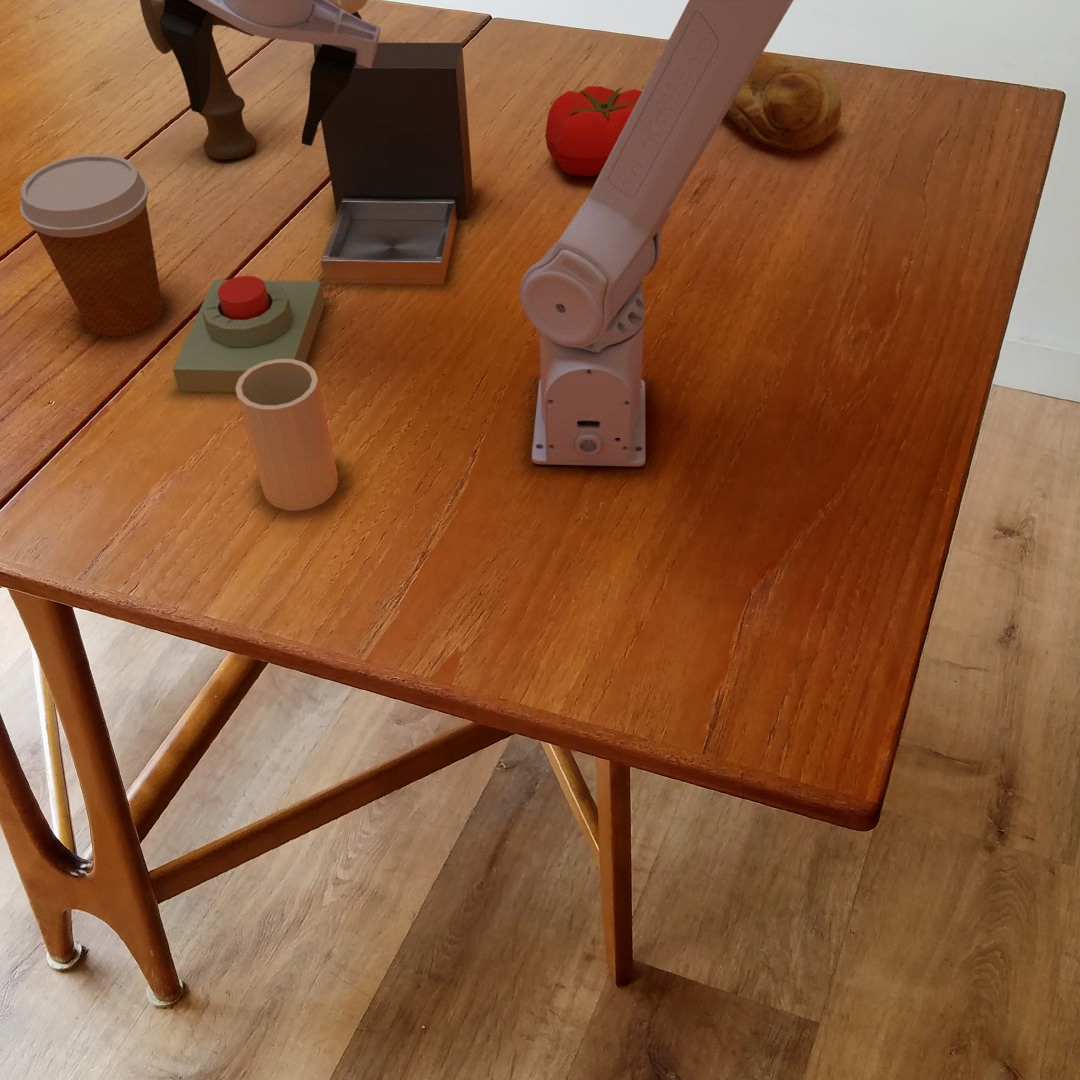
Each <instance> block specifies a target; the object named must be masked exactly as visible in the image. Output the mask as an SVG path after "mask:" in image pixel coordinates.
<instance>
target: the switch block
mask: <svg viewBox="0 0 1080 1080" xmlns="http://www.w3.org/2000/svg"><path fill="white" fill-rule="evenodd" d="M227 280H228V279H213V280H212V283H211V285H210V286H209V289H208V291H207V293H206V296H205V297H204V300H203V302H202V304H201V307H200V308H199V311H198V312H197V315H196V317H195V319H194V321H193V324H192V326H191V328H190V329H189V330H190V331H189V332H188V335H187V337H186V339H185V342H184V344H183V346H182V348H181V350H180V352H179V354H178V356H177V358H176V361H175V363H174V365H173V368H172V372H173V375H174V378H175V381H176V384H177V388H178V390H179V392H186V393H187V392H188V393H189V392H190V393H191V392H192V393H196V392H197V393H234V394H235V393H236V389H235V387H236V385H237V382H238V379H239V377H240V376H241V375H243V374H244V373H245V372H246V371H247V370H248V369H249V368H251V367H253V366H255V365H257V364H259V363H261V362H265V361H270V360H274V359H294V360H298V361H301V362H304V363H307V359H308V357H309V354H310V350H311V348H312V344H313V342H314V338H315V335H316V333H317V329H318V327H319V323H320V321H321V317H322V314H323V311H324V308H325V305H326V299H325V295H324V290H323V285H322V281H321V280H320V281H319V280H318V281H317V280H262V281H263V282H264V283H265V287H266V291H267V296H268V300H269V309H268V310H267V311H266V312H265V313H263V314H262V315H260V316H258V317H254V318H251V319H247V320H231V319H229V318H227V317H226V316H225V315H224V314H223V311H222V307H221V304H220V300H219V296H218V289H219V287H220V286H221V285H222V284H223V283H224V282H226V281H227ZM236 394H237V393H236Z"/></svg>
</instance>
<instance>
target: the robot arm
mask: <svg viewBox="0 0 1080 1080" xmlns="http://www.w3.org/2000/svg"><path fill="white" fill-rule="evenodd" d="M154 1H157V2H161V3H162V2H165V6H164V12H163V14H162V16H161V17H160V29H161V33H162V35H163V36H164V37H165V39H166V40H167V42H168V44H169V45H170V47H171V49H172V50H171V52H172V53H173V55H174V57H175V59H176V61H177V63H178V66H179V69H180V70H181V74H182V76H183V80H184V83H185V87H186V90H187V95H188V99H189V104H190V110H191V111H192V112H194V113H198V114H199V113H201V112H202V110H203V108H204V105H205V103H206V101H207V99H208V97H209V89H210V50H211V39H212V35H213V29H214V26H213V23H214V15H216V16H217V17H219V18H221V19H223V20H224V21H226V22H228V23H230V24H232V25H233V26H235V27H237V28H239V29H241V30H243V31H245V32H247V33H250V34H252V35H255V36H256V37H260V38H263V39H269V40H279V41H288V42H296V43H297V42H299V43H305V44H306V43H307V44H311V45H313V46H314V45H317V46H320V49H319V51H318V54H317V56H316V58H315V59H314V61H313V64H312V66H311V69H310V76H309V80H310V81H309V95H308V96H309V97H308V105H307V112H306V115H305V120H304V125H303V128H302V133H301V144H302V145H305V146H309V147H311V146H313V143H314V140H315V138H316V135H317V132H318V127H319V125H320V124H321V119H322V117H323V115H324V114H325V112H326V110H327V109H328V107H329V106H330V105H331V103H332V102H333V101H334V100H335V98H336V97H337V96H338V95H339V94H340V93H341V92H342V91H343V90H344V88H345V87H346V85H347V84H348V82H349V81H350V79H351V76H352V73H353V70H354V67H355V64H356V63H357V64H358V65H361V66H364V67H368V68H371V67H372V64H373V61H374V58H375V55H376V51H377V45H378V43H379V41H380V40H379V39H380V33H381V26H379V25H376V24H373V23H371V22H368V21H366V20H363V19H362V20H361V19H359V18H357V17H355V16H353V15H352V14H350V13H348V12H346V11H344V10H343V9H341V8H339V7H337V6H335V5H334V4H332V3H330V2H328V1H326V0H154ZM793 2H794V0H688V1H687V3H686V5H685V7H684V8H683V9H684V10H683V11H682V14H681V15H680V17H679V19H678V21H677V23H676V25H675V26H674V28H673V31H672V33H671V35H670V37H669V38H668V40H667V42H666V44H665V46H664V48H663V51H662V52H661V54H660V56H659V58H658V59H657V62H656V63H655V66H654V68H653V70H652V72H651V74H650V75H649V77H648V79H647V81H646V84H645V85H644V87H643V89H642V90H641V91H642V93H641V95H640V97H639V99H638V101H637V103H636V105H635V107H634V108H633V110H632V112H631V114H630V116H629V118H628V120H627V122H626V124H625V126H624V128H623V130H622V132H621V134H620V136H619V138H618V140H617V141H616V143H615V145H614V147H613V149H612V151H611V153H610V155H609V157H608V159H607V161H606V163H605V165H604V167H603V169H602V171H601V173H600V174H598V176H597V179H595V182H594V185H593V186H592V188H591V190H590V192H589V194H588V196H587V198H586V199H585V200H584V202H583V204H582V205H581V206H580V208H579V209H578V211H577V212H576V214H575V215H574V217H573V218H572V219H571V221H570V222H569V224H568V225H567V227H566V228H565V230H564V231H563V233H562V234H561V235H560V237H559V238H558V239H557V240H556V241H555V243H554V244H553V245H552V246H551V247H550V249H548V251H546V253H545V254H544V255H543V256H542V257H541V258H540V260H538V261H537V262H535V263H533V264H532V265H531V266H530V267H529V268H528V269H527V270H526V272H524V274H523V276H522V278H521V281H520V285H519V293H518V294H519V301H520V305H521V308H522V311H523V313H524V315H525V316H526V318H527V320H528V322H529V323H530V324H531V325H532V327H533V328H534V329H535V330H536V331H537V332H538V337H539V360H540V361H539V368H540V379H539V380H538V387H537V388H538V389H537V399H536V409H535V418H534V428H533V439H532V448H531V462H532V463H533V464H535V465H553V466H555V465H556V466H557V465H559V466H560V465H561V466H596V467H598V466H599V467H602V466H603V467H642V466H645V464H646V382H645V380H644V379H642V374H643V354H644V335H645V334H644V333H645V314H646V312H645V311H646V309H645V300H644V295H643V287H644V281H643V280H644V279H645V278H646V277H647V276H648V275H650V274H651V273H652V272H653V271H654V269H655V268H656V266H657V265H658V262H659V260H660V258H661V252H662V232H663V229H664V227H665V224H666V222H667V221H668V219H669V217H670V216H671V214H672V211H671V209H670V208H671V207H672V205H673V203H674V202H675V200H676V198H677V197H678V195H679V193H680V191H682V189H683V187H684V185H685V183H686V182H687V180H688V178H689V177H690V175H691V173H692V171H693V170H694V168H695V167H696V165H697V163H698V162H699V160H700V158H701V157H702V155H703V153H704V152H705V150H706V148H707V146H708V144H709V143H710V141H711V140H712V138H713V137H714V134H715V133H716V132H717V130H718V128H719V126H720V125H721V123H722V121H723V119H725V118H724V116H725V115H726V113H727V111H728V110H729V108H730V106H731V104H732V103H733V101H734V99H735V98H736V96H737V94H738V93H739V91H740V89H741V88H742V86H743V84H744V83H745V81H746V79H747V78H748V76H749V74H750V73H751V71H752V69H753V68H754V66H755V64H756V63H757V61H758V59H759V58H760V56H761V54H764V51H765V50H766V48H767V46H768V44H769V42H770V41H771V39H772V37H773V36H774V34H775V33H776V31H777V29H778V28H779V26H780V24H781V22H782V21H783V19H784V17H785V16H786V14H787V13H788V11H789V9H790V7H791V6H792V4H793Z"/></svg>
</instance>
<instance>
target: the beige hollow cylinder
mask: <svg viewBox="0 0 1080 1080" xmlns="http://www.w3.org/2000/svg"><path fill="white" fill-rule="evenodd" d="M320 386H321V385H320V382H319V378H318V375H317V372H316V370H315V368H313V367H312V366H311V365H309V364H308V363H307V362H306V363H304V362H301V361H298V360H294V359H274V360H270V361H265V362H261V363H259V364H257V365H255V366H253V367H251V368H249V369H248V370H247V371H246V372H245V373H244V374H243V375H241V376H240V377H239V379H238V382H237V385H236V387H235V389H236V396H237V401H238V405H239V408H240V411H241V416H242V420H243V423H244V426H245V430H246V434H247V438H248V441H249V446H250V448H251V452H252V456H253V459H254V463H255V467H256V471H257V475H258V478H259V483H260V485H261V489H262V494H263V496H264V498H265V500H266V501H267V502H268V503H269V504H271V505H272V506H273V507H275V508H277V509H281V510H285V511H291V512H292V511H293V512H294V511H295V512H296V511H305V510H309V509H313V508H315V507H317V506H320V505H322V504H323V503H325V502H326V501H327V500H329V499H330V498H331V497H332V496H333V495H334V494H335V492H336V490H337V487H338V485H339V477H338V471H337V465H336V460H335V455H334V450H333V446H332V440H331V436H330V431H329V426H328V421H327V416H326V412H325V405H324V402H323V396H322V391H321V387H320Z"/></svg>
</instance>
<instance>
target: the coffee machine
mask: <svg viewBox="0 0 1080 1080" xmlns="http://www.w3.org/2000/svg"><path fill="white" fill-rule="evenodd" d="M463 51H464V48H463V42H378V45H377V51H376V55H375V58H374V61H373V64H372V67H371V68H368V67H364V66H361V65H358V64H357V63H356V64H355V67H354V70H353V73H352V76H351V79H350V81H349V82H348V84H347V85H346V87H345V88H344V90H343V91H342V92H341V93H340V94H339V95H338V96H337V97H336V98H335V100H334V101H333V102H332V103H331V105H330V106H329V107H328V109H327V110H326V112H325V114H324V115H323V117H322V119H321V121H320V124H321V130H322V135H323V141H324V148H325V154H326V159H327V160H326V161H327V165H328V172H329V177H330V183H331V184H330V185H331V189H332V196H333V201H334V207H335V213H336V215H337V213H338V210H339V208H340V205H341V202H342V199H343V198H359V199H455V202H456V214H457V221H460V220H461V221H462V220H463V221H465V220H466V221H467V220H468V219H469V214H470V208H471V204H472V199H473V193H474V189H473V172H472V159H471V158H472V157H471V147H470V132H469V118H468V117H469V116H468V104H467V103H468V102H467V91H466V90H467V89H466V88H467V87H466V77H465V76H466V75H465V62H464V52H463Z"/></svg>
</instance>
